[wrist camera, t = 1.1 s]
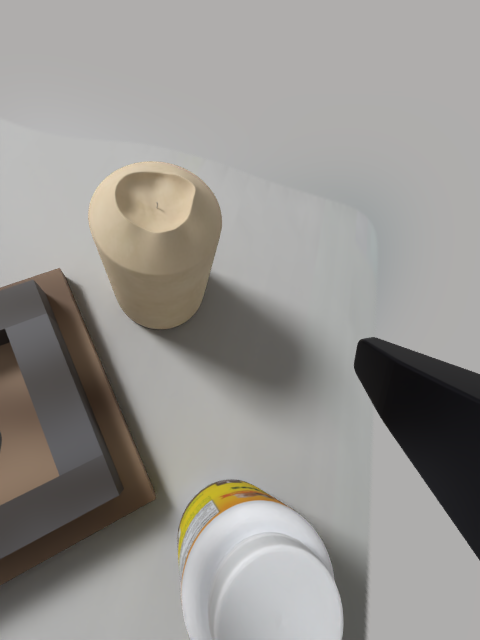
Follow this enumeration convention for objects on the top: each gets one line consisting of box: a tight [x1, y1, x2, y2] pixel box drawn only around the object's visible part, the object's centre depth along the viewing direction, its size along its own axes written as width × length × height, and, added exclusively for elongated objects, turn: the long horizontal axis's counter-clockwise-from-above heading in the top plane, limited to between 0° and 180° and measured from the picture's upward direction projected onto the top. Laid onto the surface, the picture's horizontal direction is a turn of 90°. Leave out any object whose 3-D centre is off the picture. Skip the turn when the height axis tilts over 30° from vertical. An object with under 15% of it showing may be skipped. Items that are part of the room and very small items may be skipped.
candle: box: [88, 161, 222, 329], centre depth 19 cm, size 6×6×10 cm
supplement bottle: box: [178, 480, 344, 640], centre depth 15 cm, size 6×6×10 cm
